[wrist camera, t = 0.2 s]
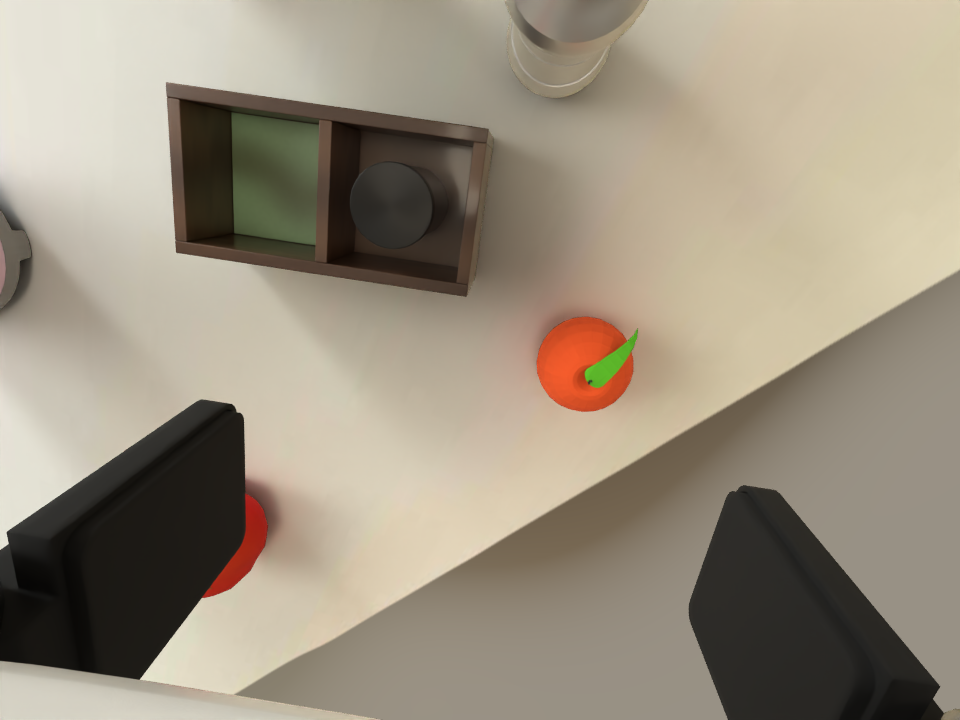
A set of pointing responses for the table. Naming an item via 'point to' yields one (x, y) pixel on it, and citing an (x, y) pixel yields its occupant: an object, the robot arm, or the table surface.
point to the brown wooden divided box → (317, 186)
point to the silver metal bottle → (564, 40)
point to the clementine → (585, 364)
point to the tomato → (243, 549)
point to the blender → (11, 258)
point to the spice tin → (397, 204)
